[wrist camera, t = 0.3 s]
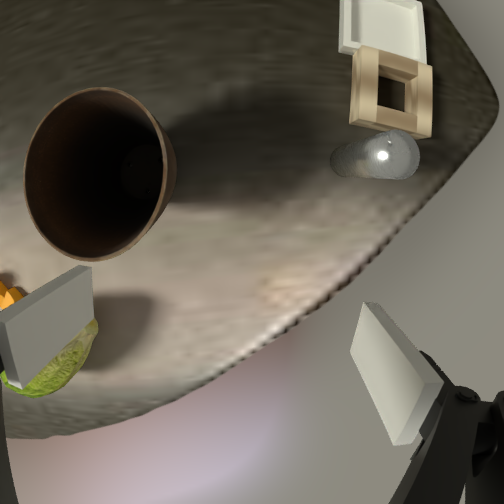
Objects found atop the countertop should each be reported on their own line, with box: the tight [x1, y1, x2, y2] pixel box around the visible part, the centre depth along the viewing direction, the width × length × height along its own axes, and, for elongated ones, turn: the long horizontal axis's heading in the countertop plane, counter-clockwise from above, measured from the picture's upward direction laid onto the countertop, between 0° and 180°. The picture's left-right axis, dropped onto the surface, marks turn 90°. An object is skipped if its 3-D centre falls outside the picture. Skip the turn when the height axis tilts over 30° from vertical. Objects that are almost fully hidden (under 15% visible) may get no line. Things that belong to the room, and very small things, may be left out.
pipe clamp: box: [0, 281, 24, 309], centre depth 40 cm, size 12×4×6 cm, turn 51°
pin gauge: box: [330, 129, 420, 179], centre depth 30 cm, size 4×4×16 cm
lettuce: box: [0, 318, 99, 398], centre depth 37 cm, size 13×22×14 cm, turn 119°
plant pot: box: [23, 87, 177, 262], centre depth 31 cm, size 15×15×16 cm
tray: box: [339, 0, 427, 64], centre depth 31 cm, size 12×12×2 cm
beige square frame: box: [349, 45, 432, 140], centre depth 33 cm, size 10×10×4 cm
